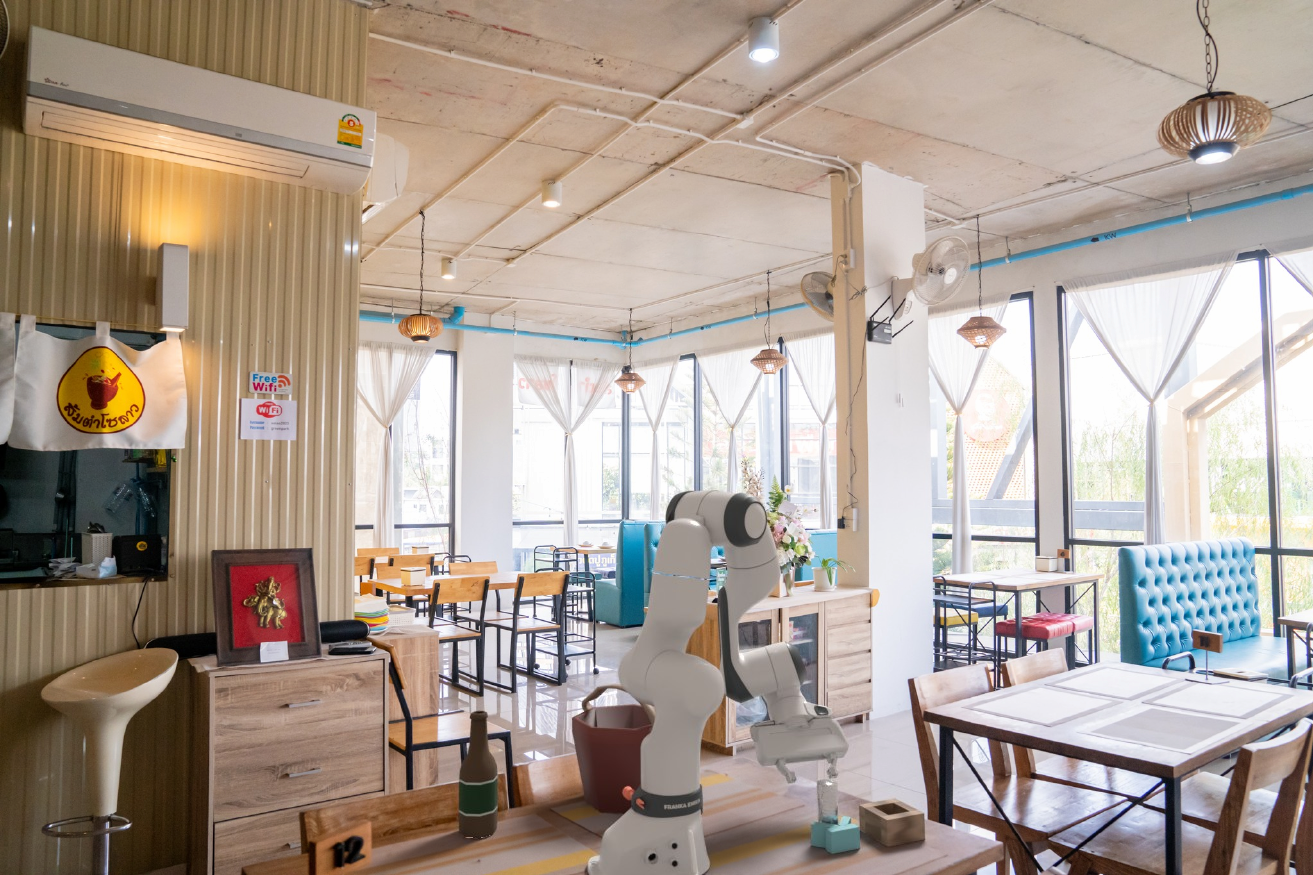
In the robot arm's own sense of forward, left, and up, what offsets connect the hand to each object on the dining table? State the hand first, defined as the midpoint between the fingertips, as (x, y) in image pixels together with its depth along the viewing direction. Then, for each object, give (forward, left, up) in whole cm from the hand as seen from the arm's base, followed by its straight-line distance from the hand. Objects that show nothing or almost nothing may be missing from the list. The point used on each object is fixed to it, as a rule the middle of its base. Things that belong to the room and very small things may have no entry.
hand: (813, 779), depth 172 cm
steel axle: (-1, -7, -10) cm, 12 cm away
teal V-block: (-1, -9, -10) cm, 13 cm away
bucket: (-30, +31, -10) cm, 44 cm away
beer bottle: (-64, +26, -10) cm, 70 cm away
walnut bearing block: (+12, -9, -10) cm, 18 cm away
